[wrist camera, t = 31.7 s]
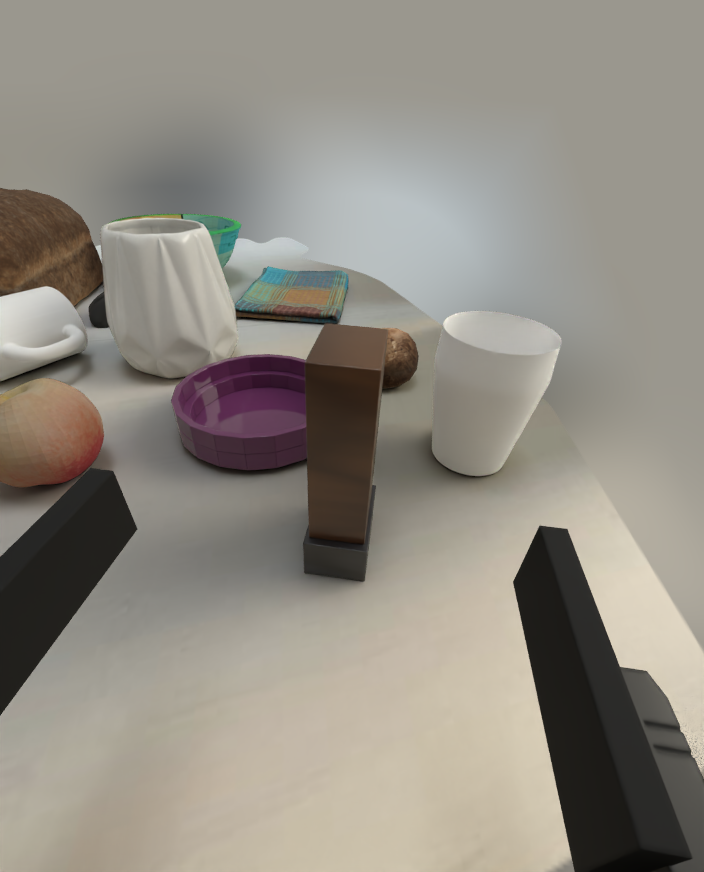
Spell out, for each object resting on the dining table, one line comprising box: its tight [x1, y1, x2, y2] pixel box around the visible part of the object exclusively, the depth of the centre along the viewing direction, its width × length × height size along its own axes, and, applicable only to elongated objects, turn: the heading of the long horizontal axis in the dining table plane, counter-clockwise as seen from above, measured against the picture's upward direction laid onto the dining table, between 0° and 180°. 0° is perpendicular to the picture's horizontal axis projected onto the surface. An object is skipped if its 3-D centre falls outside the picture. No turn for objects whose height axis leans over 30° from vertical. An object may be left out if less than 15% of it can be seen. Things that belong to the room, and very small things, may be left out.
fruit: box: [0, 378, 104, 487], centre depth 31 cm, size 8×8×8 cm
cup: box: [432, 311, 562, 476], centre depth 34 cm, size 9×9×12 cm
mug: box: [0, 286, 87, 381], centre depth 45 cm, size 12×10×8 cm
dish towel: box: [235, 266, 348, 324], centre depth 71 cm, size 17×23×2 cm
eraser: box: [303, 323, 388, 581], centre depth 24 cm, size 4×6×15 cm, turn 172°
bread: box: [0, 188, 103, 306], centre depth 59 cm, size 15×32×16 cm, turn 9°
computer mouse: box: [89, 292, 109, 328], centre depth 60 cm, size 6×11×4 cm, turn 120°
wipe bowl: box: [171, 354, 307, 470], centre depth 39 cm, size 15×15×4 cm
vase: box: [100, 218, 238, 379], centre depth 46 cm, size 14×14×15 cm
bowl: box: [108, 214, 241, 268], centre depth 75 cm, size 22×22×10 cm
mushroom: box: [382, 328, 418, 389], centre depth 48 cm, size 8×8×6 cm
